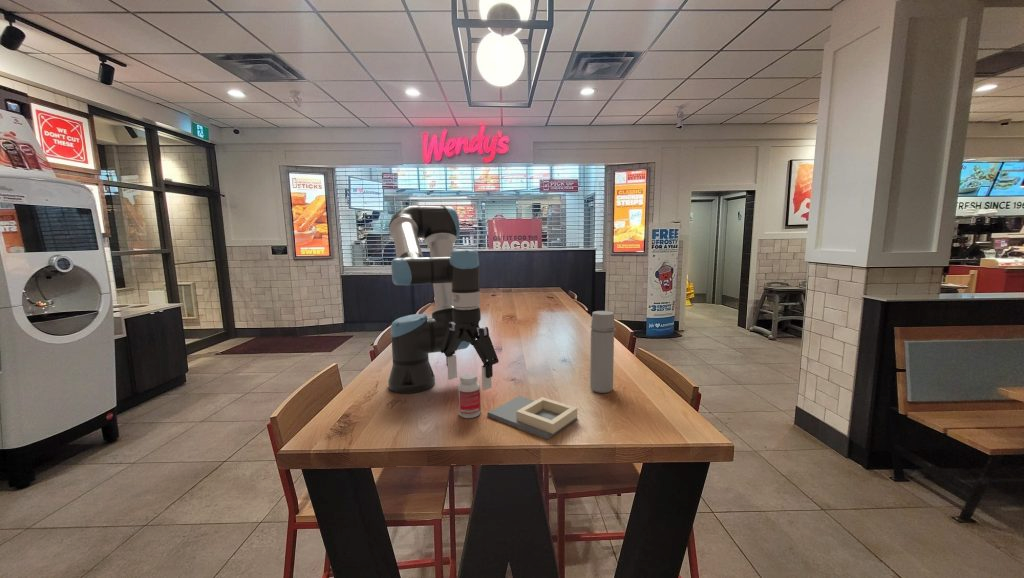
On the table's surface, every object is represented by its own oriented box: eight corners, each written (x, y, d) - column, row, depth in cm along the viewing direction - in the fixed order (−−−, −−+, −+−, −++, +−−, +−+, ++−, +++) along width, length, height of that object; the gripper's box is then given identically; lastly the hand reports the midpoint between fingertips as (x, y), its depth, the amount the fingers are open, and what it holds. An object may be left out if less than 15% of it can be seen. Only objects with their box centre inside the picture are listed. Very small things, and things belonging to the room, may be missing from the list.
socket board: (487, 416, 107) (487, 403, 106) (519, 399, 117) (519, 387, 117) (550, 440, 93) (550, 426, 93) (579, 419, 104) (579, 406, 103)
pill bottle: (484, 415, 107) (483, 376, 106) (464, 421, 104) (463, 381, 102) (474, 407, 112) (473, 370, 111) (455, 412, 109) (453, 374, 108)
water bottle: (604, 396, 118) (606, 316, 115) (584, 389, 124) (585, 312, 121) (621, 388, 124) (623, 312, 121) (601, 381, 130) (602, 308, 127)
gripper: (426, 305, 109) (429, 377, 112) (490, 313, 93) (493, 398, 96) (446, 301, 115) (449, 370, 117) (510, 309, 99) (512, 389, 101)
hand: (469, 383), depth 107 cm, fingers open, 13 cm apart
